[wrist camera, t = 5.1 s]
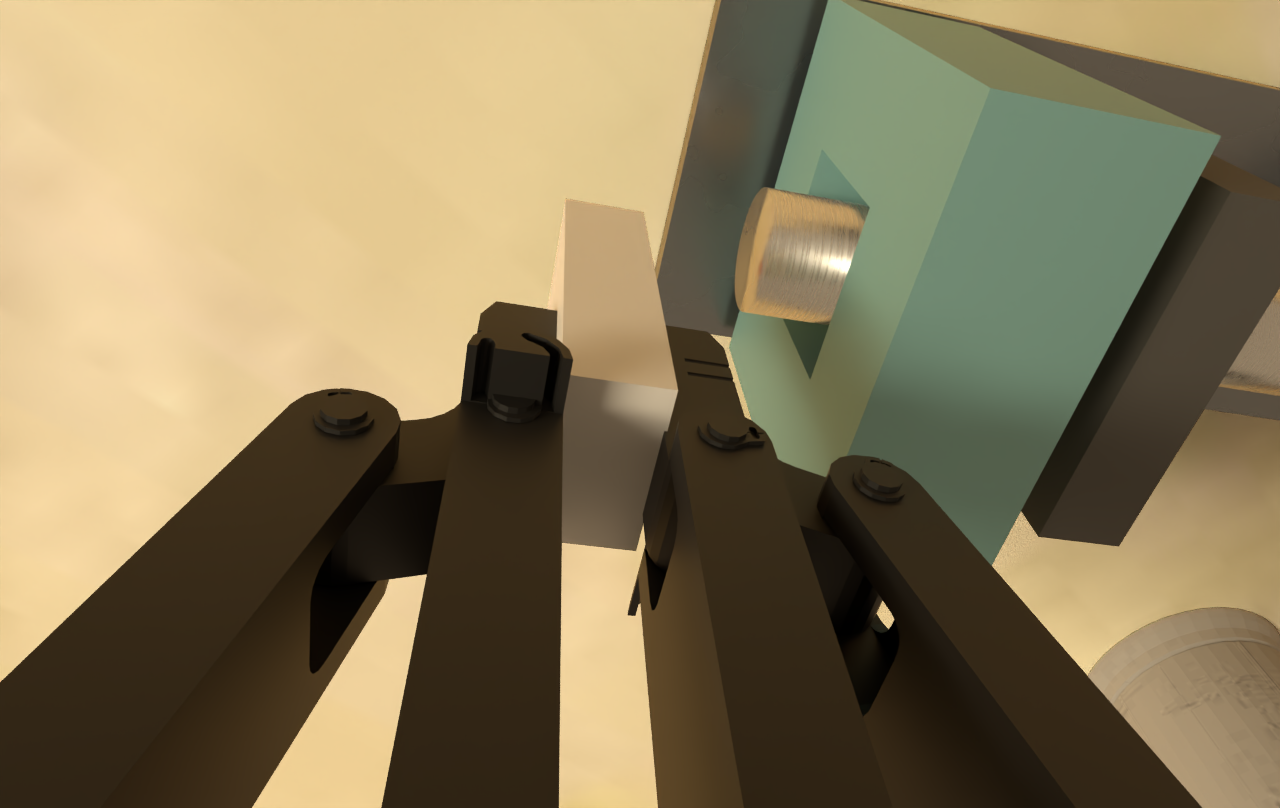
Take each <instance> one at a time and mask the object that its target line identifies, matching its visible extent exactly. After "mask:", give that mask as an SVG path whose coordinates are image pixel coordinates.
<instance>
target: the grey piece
mask: <svg viewBox="0 0 1280 808" xmlns="http://www.w3.org/2000/svg"><path fill="white" fill-rule="evenodd" d="M859 1H863V2H868V3H872V4H877V5H882V6H886V7H891V8H895V9H900V10H904V11H909V12H914V13H918V14H923V15H927V16H932V17H936V18H941V19H946V20H950V21H955V22H959V23H964V24H968V25H973V26H978V27H980V28H983V29H985V30H987V31H989V32H992V33H994V34H996V35H998V36H1000V37H1003V38H1005V39H1007V40H1009V41H1012V42H1014V43H1016V44H1018V45H1020V46H1023V47H1025V48H1027V49H1029V50H1032V51H1034V52H1036V53H1038V54H1040V55H1043V56H1045V57H1047V58H1049V59H1052V60H1054V61H1056V62H1058V63H1060V64H1063V65H1065V66H1067V67H1069V68H1072V69H1074V70H1076V71H1078V72H1080V73H1083V74H1085V75H1087V76H1089V77H1092V78H1094V79H1096V80H1098V81H1100V82H1103V83H1105V84H1107V85H1109V86H1112V87H1114V88H1116V89H1118V90H1120V91H1123V92H1125V93H1127V94H1129V95H1132V96H1134V97H1136V98H1138V99H1140V100H1143V101H1145V102H1147V103H1149V104H1152V105H1154V106H1156V107H1158V108H1160V109H1163V110H1165V111H1167V112H1169V113H1172V114H1174V115H1176V116H1178V117H1180V118H1183V119H1185V120H1187V121H1189V122H1192V123H1194V124H1196V125H1198V126H1200V127H1203V128H1205V129H1207V130H1209V131H1212V132H1214V133H1216V134H1218V135H1220V136H1221V138H1220V140H1219V142H1218V144H1217V145H1216V147H1215V149H1214V151H1213V153H1212V155H1214V156H1216V157H1218V158H1220V159H1222V160H1224V161H1226V162H1228V163H1230V164H1233V165H1235V166H1237V167H1239V168H1241V169H1243V170H1245V171H1247V172H1249V173H1251V174H1253V175H1255V176H1257V177H1259V178H1261V179H1263V180H1265V181H1268V182H1270V183H1272V184H1274V185H1276V186H1278V187H1280V88H1278V87H1273V86H1268V85H1264V84H1259V83H1255V82H1250V81H1246V80H1241V79H1237V78H1232V77H1228V76H1223V75H1218V74H1214V73H1209V72H1205V71H1200V70H1196V69H1191V68H1187V67H1182V66H1177V65H1173V64H1168V63H1164V62H1159V61H1155V60H1150V59H1146V58H1141V57H1137V56H1132V55H1127V54H1123V53H1118V52H1114V51H1109V50H1105V49H1100V48H1096V47H1091V46H1087V45H1082V44H1077V43H1073V42H1068V41H1064V40H1059V39H1055V38H1050V37H1046V36H1041V35H1037V34H1032V33H1027V32H1023V31H1018V30H1014V29H1009V28H1005V27H1000V26H996V25H991V24H986V23H982V22H977V21H973V20H968V19H964V18H959V17H955V16H950V15H946V14H941V13H936V12H932V11H927V10H923V9H918V8H914V7H909V6H905V5H900V4H896V3H891V2H886V1H882V0H859ZM827 3H828V0H716V1H715V5H714V10H713V14H712V19H711V23H710V27H709V32H708V36H707V41H706V45H705V50H704V54H703V58H702V63H701V67H700V72H699V76H698V81H697V85H696V90H695V94H694V98H693V103H692V107H691V112H690V116H689V121H688V125H687V129H686V134H685V138H684V143H683V147H682V152H681V156H680V161H679V165H678V169H677V174H676V178H675V183H674V187H673V192H672V196H671V201H670V205H669V209H668V214H667V218H666V223H665V227H664V232H663V236H662V240H661V245H660V249H659V254H658V258H657V263H656V267H655V274H656V279H657V284H658V289H659V295H660V300H661V305H662V310H663V315H664V320H665V325H668V326H674V327H681V328H687V329H693V330H700V331H706V332H708V333H709V334H714V335H720V336H727V337H732V335H733V332H734V328H735V325H736V321H737V318H738V314H739V311H742V312H746V313H752V314H759V315H765V316H772V317H778V318H784V319H791V320H797V321H804V322H810V323H816V324H823V325H829V324H830V321H831V319H832V316H833V313H834V310H835V307H836V304H837V301H838V298H839V295H840V293H841V290H842V287H843V284H844V281H845V278H846V275H847V272H848V270H849V267H850V264H851V261H852V258H853V255H854V252H855V249H856V246H857V244H858V241H859V238H860V235H861V232H862V229H863V226H864V223H865V220H866V218H867V215H868V212H869V209H870V207H869V206H868V205H862V204H857V203H851V202H846V201H840V200H835V199H829V198H824V197H818V196H812V195H807V194H801V193H796V192H790V191H785V190H779V189H774V188H775V185H776V181H777V178H778V174H779V171H780V167H781V164H782V160H783V157H784V153H785V150H786V146H787V143H788V139H789V136H790V132H791V129H792V125H793V122H794V118H795V115H796V111H797V108H798V104H799V101H800V97H801V94H802V90H803V87H804V83H805V80H806V76H807V73H808V69H809V66H810V62H811V59H812V55H813V52H814V48H815V45H816V41H817V38H818V34H819V31H820V27H821V24H822V20H823V17H824V13H825V10H826V6H827ZM1205 409H1208V410H1215V411H1221V412H1228V413H1234V414H1241V415H1248V416H1254V417H1261V418H1267V419H1274V420H1280V289H1279V290H1278V292H1277V293H1276V295H1275V297H1274V298H1273V300H1272V301H1271V303H1270V305H1269V306H1268V308H1267V309H1266V311H1265V313H1264V314H1263V316H1262V318H1261V319H1260V321H1259V322H1258V324H1257V326H1256V327H1255V329H1254V330H1253V332H1252V334H1251V335H1250V337H1249V338H1248V340H1247V342H1246V343H1245V345H1244V346H1243V348H1242V350H1241V351H1240V353H1239V354H1238V356H1237V358H1236V359H1235V361H1234V362H1233V364H1232V366H1231V367H1230V369H1229V370H1228V372H1227V374H1226V375H1225V377H1224V378H1223V380H1222V382H1221V383H1220V385H1219V386H1218V388H1217V390H1216V391H1215V393H1214V394H1213V396H1212V398H1211V399H1210V401H1209V402H1208V404H1207V406H1206V407H1205Z"/></svg>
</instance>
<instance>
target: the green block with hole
mask: <svg viewBox="0 0 1280 808" xmlns="http://www.w3.org/2000/svg"><path fill="white" fill-rule="evenodd" d="M1220 138H1221V136H1220V135H1218V134H1216V133H1214V132H1212V131H1209V130H1207V129H1205V128H1203V127H1200V126H1198V125H1196V124H1194V123H1192V122H1189V121H1187V120H1185V119H1183V118H1180V117H1178V116H1176V115H1174V114H1172V113H1169V112H1167V111H1165V110H1163V109H1160V108H1158V107H1156V106H1154V105H1152V104H1149V103H1147V102H1145V101H1143V100H1140V99H1138V98H1136V97H1134V96H1132V95H1129V94H1127V93H1125V92H1123V91H1120V90H1118V89H1116V88H1114V87H1112V86H1109V85H1107V84H1105V83H1103V82H1100V81H1098V80H1096V79H1094V78H1092V77H1089V76H1087V75H1085V74H1083V73H1080V72H1078V71H1076V70H1074V69H1072V68H1069V67H1067V66H1065V65H1063V64H1060V63H1058V62H1056V61H1054V60H1052V59H1049V58H1047V57H1045V56H1043V55H1040V54H1038V53H1036V52H1034V51H1032V50H1029V49H1027V48H1025V47H1023V46H1020V45H1018V44H1016V43H1014V42H1012V41H1009V40H1007V39H1005V38H1003V37H1000V36H998V35H996V34H994V33H992V32H989V31H987V30H985V29H983V28H980V27H978V26H973V25H968V24H964V23H959V22H955V21H950V20H946V19H941V18H936V17H932V16H927V15H923V14H918V13H914V12H909V11H904V10H900V9H895V8H891V7H886V6H882V5H877V4H872V3H868V2H863V1H859V0H828V3H827V6H826V10H825V13H824V17H823V20H822V24H821V27H820V31H819V34H818V38H817V41H816V45H815V48H814V52H813V55H812V59H811V62H810V66H809V69H808V73H807V76H806V80H805V83H804V87H803V90H802V94H801V97H800V101H799V104H798V108H797V111H796V115H795V118H794V122H793V125H792V129H791V132H790V136H789V139H788V143H787V146H786V150H785V153H784V157H783V160H782V164H781V167H780V171H779V174H778V178H777V181H776V185H775V188H774V189H779V190H785V191H790V192H796V193H801V194H807V195H812V196H818V197H824V198H829V199H835V200H840V201H846V202H851V203H857V204H862V205H868V206H869V207H870V209H869V212H868V215H867V218H866V220H865V223H864V226H863V229H862V232H861V235H860V238H859V241H858V244H857V246H856V249H855V252H854V255H853V258H852V261H851V264H850V267H849V270H848V272H847V275H846V278H845V281H844V284H843V287H842V290H841V293H840V295H839V298H838V301H837V304H836V307H835V310H834V313H833V316H832V319H831V321H830V324H829V325H823V324H816V323H810V322H804V321H797V320H791V319H784V318H778V317H772V316H765V315H759V314H752V313H746V312H742V311H739V314H738V318H737V321H736V325H735V328H734V332H733V335H732V339H731V342H730V346H729V348H730V352H731V355H732V358H733V361H734V364H735V368H736V371H737V374H738V377H739V380H740V384H741V387H742V390H743V393H744V397H745V400H746V403H747V406H748V409H749V413H750V416H751V419H752V421H753V422H754V423H756V424H757V425H758V426H760V427H761V428H762V429H763V430H765V431H766V433H767V435H768V436H769V438H770V439H771V441H772V443H773V446H774V449H775V452H776V455H777V458H778V459H779V460H781V461H782V462H785V463H787V464H790V465H792V466H794V467H797V468H800V469H803V470H806V471H809V472H812V473H815V474H818V475H821V476H824V477H826V476H827V473H828V471H829V468H830V465H831V463H833V462H834V461H835V460H837V459H838V458H839V457H844V456H850V455H860V456H872V457H876V458H880V460H882V459H883V460H886V461H888V462H891V463H892V464H893V465H895V466H897V467H898V468H900V469H902V470H904V471H906V472H907V473H908V474H909V475H911V476H912V477H913V478H914V479H915V480H916V481H917V482H919V483H920V484H921V486H922V487H923V488H924V489H925V490H926V491H927V492H928V494H929V495H930V496H931V497H932V498H933V499H934V500H935V502H936V503H937V504H938V505H939V506H940V507H941V508H942V510H943V511H944V512H945V513H946V514H947V515H948V517H949V518H950V519H951V520H952V521H953V522H954V523H955V525H956V526H957V527H958V528H959V529H960V530H961V531H962V533H963V534H964V535H965V536H966V537H967V538H968V539H969V541H970V542H971V543H972V544H973V545H974V546H975V547H976V549H977V550H978V551H979V552H980V553H981V554H982V556H983V557H984V558H985V559H986V560H987V561H988V562H989V564H990V565H991V566H992V564H993V562H994V560H995V558H996V556H997V555H998V553H999V551H1000V549H1001V547H1002V545H1003V543H1004V542H1005V540H1006V538H1007V536H1008V534H1009V532H1010V530H1011V528H1012V527H1013V525H1014V523H1015V521H1016V519H1017V517H1018V515H1019V513H1020V512H1021V510H1022V508H1023V506H1024V504H1025V502H1026V500H1027V499H1028V497H1029V495H1030V493H1031V491H1032V489H1033V487H1034V485H1035V484H1036V482H1037V480H1038V478H1039V476H1040V474H1041V472H1042V471H1043V469H1044V467H1045V465H1046V463H1047V461H1048V459H1049V457H1050V456H1051V454H1052V452H1053V450H1054V448H1055V446H1056V444H1057V442H1058V441H1059V439H1060V437H1061V435H1062V433H1063V431H1064V429H1065V428H1066V426H1067V424H1068V422H1069V420H1070V418H1071V416H1072V414H1073V413H1074V411H1075V409H1076V407H1077V405H1078V403H1079V401H1080V400H1081V398H1082V396H1083V394H1084V392H1085V390H1086V388H1087V386H1088V385H1089V383H1090V381H1091V379H1092V377H1093V375H1094V373H1095V371H1096V370H1097V368H1098V366H1099V364H1100V362H1101V360H1102V358H1103V357H1104V355H1105V353H1106V351H1107V349H1108V347H1109V345H1110V343H1111V342H1112V340H1113V338H1114V336H1115V334H1116V332H1117V330H1118V329H1119V327H1120V325H1121V323H1122V321H1123V319H1124V317H1125V315H1126V314H1127V312H1128V310H1129V308H1130V306H1131V304H1132V302H1133V300H1134V299H1135V297H1136V295H1137V293H1138V291H1139V289H1140V287H1141V286H1142V284H1143V282H1144V280H1145V278H1146V276H1147V274H1148V272H1149V271H1150V269H1151V267H1152V265H1153V263H1154V261H1155V259H1156V258H1157V256H1158V254H1159V252H1160V250H1161V248H1162V246H1163V244H1164V243H1165V241H1166V239H1167V237H1168V235H1169V233H1170V231H1171V229H1172V228H1173V226H1174V224H1175V222H1176V220H1177V218H1178V216H1179V215H1180V213H1181V211H1182V209H1183V207H1184V205H1185V203H1186V201H1187V200H1188V198H1189V196H1190V194H1191V192H1192V190H1193V188H1194V187H1195V185H1196V183H1197V181H1198V179H1199V177H1200V175H1201V173H1202V172H1203V170H1204V168H1205V166H1206V164H1207V162H1208V160H1209V158H1210V157H1211V155H1212V153H1213V151H1214V149H1215V147H1216V145H1217V144H1218V142H1219V140H1220Z"/></svg>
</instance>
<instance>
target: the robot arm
mask: <svg viewBox="0 0 1280 808" xmlns="http://www.w3.org/2000/svg"><path fill="white" fill-rule="evenodd" d="M643 523H644V533H645V542H646V545H645V549H644V553H643V556H642V560H641V564H640V568H639V571H638V575H637V579H636V582H635V586H634V590H633V594H632V597H631V601H630V605H629V610H628V615H631V616H635V615H636V611H637V608H638V604H640V603H641V614H642V626H643V637H644V649H645V661H646V672H647V684H648V695H649V707H650V719H651V730H652V742H653V754H654V765H655V777H656V788H657V800H658V808H1202V807H1201V806H1200V804H1199V803H1198V802H1197V801H1196V800H1195V799H1194V797H1193V796H1192V795H1191V794H1190V793H1189V792H1188V791H1187V789H1186V788H1185V787H1184V786H1183V785H1182V784H1181V783H1180V781H1179V780H1178V779H1177V778H1176V777H1175V776H1174V775H1173V773H1172V772H1171V771H1170V770H1169V769H1168V768H1167V767H1166V765H1165V764H1164V763H1163V762H1162V761H1161V760H1160V758H1159V757H1158V756H1157V755H1156V754H1155V753H1154V752H1153V750H1152V749H1151V748H1150V747H1149V746H1148V745H1147V744H1146V742H1145V741H1144V740H1143V739H1142V738H1141V737H1140V736H1139V734H1138V733H1137V732H1136V731H1135V730H1134V729H1133V728H1132V726H1131V725H1130V724H1129V723H1128V722H1127V721H1126V720H1125V718H1124V717H1123V716H1122V715H1121V714H1120V713H1119V711H1118V710H1117V709H1116V708H1115V707H1114V706H1113V705H1112V703H1111V702H1110V701H1109V700H1108V699H1107V698H1106V697H1105V695H1104V694H1103V693H1102V692H1101V691H1100V690H1099V689H1098V687H1097V686H1096V685H1095V684H1094V683H1093V682H1092V681H1091V679H1090V678H1089V677H1088V676H1087V675H1086V674H1085V672H1084V671H1083V670H1082V669H1081V668H1080V667H1079V666H1078V664H1077V663H1076V662H1075V661H1074V660H1073V659H1072V658H1071V656H1070V655H1069V654H1068V653H1067V652H1066V651H1065V650H1064V648H1063V647H1062V646H1061V645H1060V644H1059V643H1058V642H1057V640H1056V639H1055V638H1054V637H1053V636H1052V635H1051V633H1050V632H1049V631H1048V630H1047V629H1046V628H1045V627H1044V625H1043V624H1042V623H1041V622H1040V621H1039V620H1038V619H1037V617H1036V616H1035V615H1034V614H1033V613H1032V612H1031V611H1030V609H1029V608H1028V607H1027V606H1026V605H1025V604H1024V603H1023V601H1022V600H1021V599H1020V598H1019V597H1018V596H1017V594H1016V593H1015V592H1014V591H1013V590H1012V589H1011V588H1010V586H1009V585H1008V584H1007V583H1006V582H1005V581H1004V580H1003V578H1002V577H1001V576H1000V575H999V574H998V573H997V572H996V570H995V569H994V568H993V567H992V566H991V565H990V564H989V562H988V561H987V560H986V559H985V558H984V557H983V556H982V554H981V553H980V552H979V551H978V550H977V549H976V547H975V546H974V545H973V544H972V543H971V542H970V541H969V539H968V538H967V537H966V536H965V535H964V534H963V533H962V531H961V530H960V529H959V528H958V527H957V526H956V525H955V523H954V522H953V521H952V520H951V519H950V518H949V517H948V515H947V514H946V513H945V512H944V511H943V510H942V508H941V507H940V506H939V505H938V504H937V503H936V502H935V500H934V499H933V498H932V497H931V496H930V495H929V494H928V492H927V491H926V490H925V489H924V488H923V487H922V486H921V484H920V483H919V482H917V481H916V480H915V479H914V478H913V477H912V476H911V475H909V474H908V473H907V472H906V471H904V470H902V469H900V468H898V467H897V466H895V465H893V464H892V463H891V462H888V461H886V460H883V459H882V460H880V458H876V457H872V456H860V455H850V456H844V457H839V458H838V459H837V460H835V461H834V462H833V463H831V465H830V468H829V471H828V473H827V476H826V477H824V476H821V475H818V474H815V473H812V472H809V471H806V470H803V469H800V468H797V467H794V466H792V465H790V464H787V463H785V462H782V461H781V460H779V459H778V458H777V455H776V452H775V449H774V446H773V443H772V441H771V439H770V438H769V436H768V435H767V433H766V431H765V430H763V429H762V428H761V427H760V426H758V425H757V424H756V423H754V422H753V421H751V420H749V419H747V418H745V417H744V413H743V410H742V407H741V403H740V400H739V397H738V393H737V390H736V387H735V383H734V382H733V377H732V373H731V370H730V368H729V363H728V360H727V357H726V354H725V350H724V348H723V347H722V346H721V345H720V344H719V343H718V342H717V341H716V340H715V339H714V338H713V337H712V336H711V335H710V334H709V333H708V332H706V331H700V330H693V329H687V328H681V327H674V326H668V325H665V320H664V315H663V310H662V305H661V300H660V295H659V289H658V284H657V279H656V274H655V269H654V264H653V258H652V253H651V248H650V243H649V238H648V233H647V227H646V222H645V217H644V212H640V211H634V210H629V209H623V208H617V207H611V206H606V205H600V204H594V203H588V202H583V201H577V200H571V199H565V205H564V211H563V217H562V223H561V229H560V235H559V241H558V247H557V253H556V260H555V266H554V272H553V278H552V284H551V290H550V296H549V302H548V308H547V309H543V308H536V307H530V306H523V305H517V304H510V303H504V302H497V301H496V302H495V303H494V304H493V305H491V306H490V307H489V308H487V309H486V310H485V311H484V312H482V313H481V315H480V320H479V326H478V331H477V334H475V335H473V337H472V338H471V340H470V341H469V343H468V345H467V353H466V362H465V370H464V379H463V388H462V396H461V403H460V404H458V405H457V406H456V407H455V408H454V409H452V410H450V411H449V412H447V413H445V414H442V415H439V416H435V417H432V418H427V419H419V420H408V421H401V420H400V417H399V414H398V411H397V409H396V408H395V407H394V406H393V405H392V404H390V403H389V402H388V401H387V400H386V399H384V398H381V397H379V396H376V395H374V394H372V393H369V392H365V391H359V390H353V389H343V388H340V389H326V390H321V391H318V392H314V393H310V394H306V395H304V396H303V397H301V398H299V399H298V400H296V401H295V402H293V403H291V404H290V405H289V406H288V407H287V408H286V409H285V410H284V411H283V412H282V413H281V414H280V415H279V416H278V417H277V418H276V419H275V420H274V421H273V422H271V423H270V424H269V425H268V426H267V427H266V428H265V429H264V430H263V431H262V432H261V433H260V434H259V435H258V436H257V437H256V438H255V439H254V440H253V441H252V442H251V443H250V444H249V445H247V446H246V447H245V448H244V449H243V450H242V451H241V452H240V453H239V454H238V455H237V456H236V457H235V458H234V459H233V460H232V461H231V462H230V463H229V464H228V465H227V466H226V467H225V468H223V469H222V470H221V471H220V472H219V473H218V474H217V475H216V476H215V477H214V478H213V479H212V480H211V481H210V482H209V483H208V484H207V485H206V486H205V487H204V488H203V489H202V490H201V491H199V492H198V493H197V494H196V495H195V496H194V497H193V498H192V499H191V500H190V501H189V502H188V503H187V504H186V505H185V506H184V507H183V508H182V509H181V510H180V511H179V512H178V513H177V514H175V515H174V516H173V517H172V518H171V519H170V520H169V521H168V522H167V523H166V524H165V525H164V526H163V527H162V528H161V529H160V530H159V531H158V532H157V533H156V534H155V535H154V536H153V537H151V538H150V539H149V540H148V541H147V542H146V543H145V544H144V545H143V546H142V547H141V548H140V549H139V550H138V551H137V552H136V553H135V554H134V555H133V556H132V557H131V558H130V559H129V560H127V561H126V562H125V563H124V564H123V565H122V566H121V567H120V568H119V569H118V570H117V571H116V572H115V573H114V574H113V575H112V576H111V577H110V578H109V579H108V580H107V581H106V582H105V583H103V584H102V585H101V586H100V587H99V588H98V589H97V590H96V591H95V592H94V593H93V594H92V595H91V596H90V597H89V598H88V599H87V600H86V601H85V602H84V603H83V604H82V605H81V606H79V607H78V608H77V609H76V610H75V611H74V612H73V613H72V614H71V615H70V616H69V617H68V618H67V619H66V620H65V621H64V622H63V623H62V624H61V625H60V626H59V627H58V628H57V629H55V630H54V631H53V632H52V633H51V634H50V635H49V636H48V637H47V638H46V639H45V640H44V641H43V642H42V643H41V644H40V645H39V646H38V647H37V648H36V649H35V650H34V651H33V652H31V653H30V654H29V655H28V656H27V657H26V658H25V659H24V660H23V661H22V662H21V663H20V664H19V665H18V666H17V667H16V668H15V669H14V670H13V671H12V672H11V673H10V674H9V675H7V676H6V677H5V678H4V679H3V680H2V681H1V682H0V808H252V807H253V805H254V803H255V802H256V800H257V799H258V797H259V795H260V794H261V792H262V790H263V789H264V787H265V786H266V784H267V782H268V781H269V779H270V778H271V776H272V774H273V773H274V771H275V770H276V768H277V766H278V765H279V763H280V761H281V760H282V758H283V757H284V755H285V753H286V752H287V750H288V749H289V747H290V745H291V744H292V742H293V741H294V739H295V737H296V736H297V734H298V733H299V731H300V729H301V728H302V726H303V724H304V723H305V721H306V720H307V718H308V716H309V715H310V713H311V712H312V710H313V708H314V707H315V705H316V704H317V702H318V700H319V699H320V697H321V695H322V694H323V692H324V691H325V689H326V687H327V686H328V684H329V683H330V681H331V679H332V678H333V676H334V675H335V673H336V671H337V670H338V668H339V666H340V665H341V663H342V662H343V660H344V658H345V657H346V655H347V654H348V652H349V650H350V649H351V647H352V646H353V644H354V642H355V641H356V639H357V638H358V636H359V634H360V633H361V631H362V629H363V628H364V626H365V625H366V623H367V621H368V620H369V618H370V617H371V615H372V613H373V612H374V610H375V609H376V607H377V605H378V604H379V602H380V600H381V599H382V597H383V596H384V594H385V591H386V588H387V584H388V581H389V579H395V578H402V577H409V576H417V575H424V574H427V577H426V582H425V587H424V592H423V598H422V603H421V608H420V613H419V618H418V623H417V628H416V633H415V638H414V644H413V649H412V654H411V659H410V664H409V669H408V674H407V679H406V685H405V690H404V695H403V700H402V705H401V710H400V715H399V720H398V726H397V731H396V736H395V741H394V746H393V751H392V756H391V761H390V767H389V772H388V777H387V782H386V787H385V792H384V797H383V802H382V807H381V808H559V734H560V646H561V557H562V543H570V544H579V545H588V546H597V547H605V548H614V549H623V550H632V551H636V549H637V545H638V541H639V538H640V534H641V530H642V526H643ZM882 601H883V602H884V603H885V604H886V606H887V607H888V609H889V610H890V612H891V613H892V615H893V617H894V619H895V620H894V622H893V624H892V626H891V627H890V628H889V629H888V628H887V627H886V626H885V625H884V624H883V623H882V621H881V620H880V618H879V617H878V615H877V614H876V613H877V611H878V609H879V607H880V605H881V603H882Z"/></svg>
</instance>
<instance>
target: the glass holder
mask: <svg viewBox="0 0 1280 808" xmlns="http://www.w3.org/2000/svg"><path fill="white" fill-rule="evenodd" d="M1088 677H1089V678H1090V679H1091V681H1092V682H1093V683H1094V684H1095V685H1096V686H1097V687H1098V689H1099V690H1100V691H1101V692H1102V693H1103V694H1104V695H1105V697H1106V698H1107V699H1108V700H1109V701H1110V702H1111V703H1112V705H1113V706H1114V707H1115V708H1116V709H1117V710H1118V711H1119V713H1120V714H1121V715H1122V716H1123V717H1124V718H1125V720H1126V721H1127V722H1128V723H1129V724H1130V725H1131V726H1132V728H1133V729H1134V730H1135V731H1136V732H1137V733H1138V734H1139V736H1140V737H1141V738H1142V739H1143V740H1144V741H1145V742H1146V744H1147V745H1148V746H1149V747H1150V748H1151V749H1152V750H1153V752H1154V753H1155V754H1156V755H1157V756H1158V757H1159V758H1160V760H1161V761H1162V762H1163V763H1164V764H1165V765H1166V767H1167V768H1168V769H1169V770H1170V771H1171V772H1172V773H1173V775H1174V776H1175V777H1176V778H1177V779H1178V780H1179V781H1180V783H1181V784H1182V785H1183V786H1184V787H1185V788H1186V789H1187V791H1188V792H1189V793H1190V794H1191V795H1192V796H1193V797H1194V799H1195V800H1196V801H1197V802H1198V803H1199V804H1200V806H1201V807H1202V808H1280V635H1279V633H1278V632H1277V630H1276V629H1275V627H1274V626H1273V625H1272V624H1271V623H1270V622H1268V621H1267V620H1266V619H1265V618H1263V617H1261V616H1259V615H1257V614H1255V613H1253V612H1249V611H1245V610H1241V609H1235V608H1224V607H1221V608H1203V609H1197V610H1192V611H1186V612H1182V613H1179V614H1175V615H1172V616H1168V617H1166V618H1163V619H1161V620H1158V621H1156V622H1153V623H1151V624H1148V625H1147V626H1145V627H1143V628H1141V629H1139V630H1137V631H1135V632H1133V633H1132V634H1130V635H1129V636H1127V637H1126V638H1124V639H1123V640H1121V641H1120V642H1118V643H1117V644H1116V645H1115V646H1113V647H1112V648H1111V649H1110V650H1109V651H1108V652H1107V653H1105V654H1104V655H1103V656H1102V657H1101V659H1100V660H1099V661H1098V662H1097V663H1096V664H1095V665H1094V667H1093V668H1092V670H1091V671H1090V673H1089V674H1088Z"/></svg>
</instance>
